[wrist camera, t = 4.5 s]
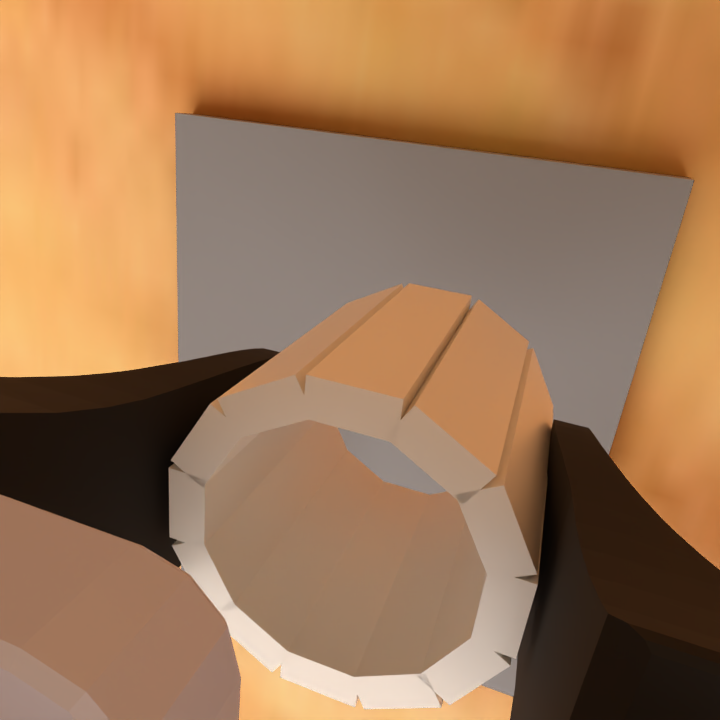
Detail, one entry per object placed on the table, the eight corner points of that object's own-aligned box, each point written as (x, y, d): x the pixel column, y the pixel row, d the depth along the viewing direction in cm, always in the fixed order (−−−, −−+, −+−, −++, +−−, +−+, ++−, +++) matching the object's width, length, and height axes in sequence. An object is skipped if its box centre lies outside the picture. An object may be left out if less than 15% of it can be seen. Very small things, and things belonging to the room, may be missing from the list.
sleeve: (579, 317, 11) (579, 443, 6) (518, 544, 13) (485, 759, 8) (315, 264, 12) (166, 339, 8) (297, 478, 14) (171, 633, 10)
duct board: (688, 177, 17) (732, 196, 12) (533, 682, 25) (521, 819, 20) (192, 113, 21) (75, 108, 16) (193, 562, 29) (114, 650, 24)
